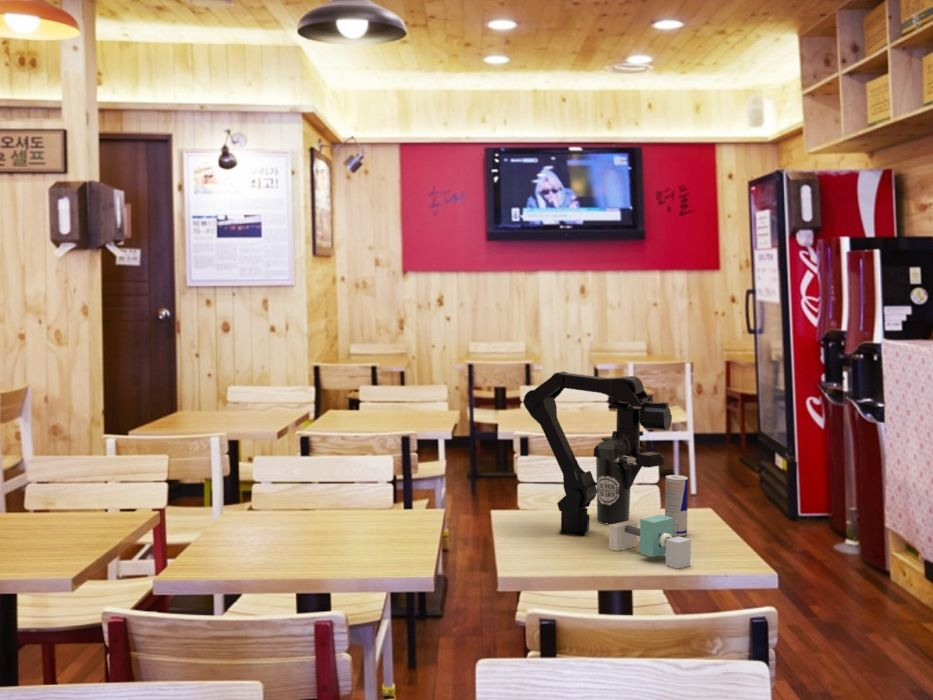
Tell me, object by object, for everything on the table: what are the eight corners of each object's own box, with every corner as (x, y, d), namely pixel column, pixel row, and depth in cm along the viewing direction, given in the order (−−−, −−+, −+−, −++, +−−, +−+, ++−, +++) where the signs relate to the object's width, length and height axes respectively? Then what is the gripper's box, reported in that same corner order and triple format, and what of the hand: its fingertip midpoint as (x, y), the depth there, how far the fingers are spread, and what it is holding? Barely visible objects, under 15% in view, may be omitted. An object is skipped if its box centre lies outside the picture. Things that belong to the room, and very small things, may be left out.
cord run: (609, 549, 217) (609, 522, 216) (629, 544, 221) (629, 517, 221) (673, 570, 201) (674, 541, 200) (694, 564, 205) (694, 536, 205)
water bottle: (587, 522, 242) (588, 437, 240) (604, 514, 250) (605, 432, 249) (622, 527, 236) (623, 441, 235) (638, 519, 245) (639, 436, 243)
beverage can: (687, 537, 227) (688, 479, 226) (664, 536, 228) (665, 478, 227) (686, 532, 232) (687, 474, 231) (664, 530, 233) (665, 474, 232)
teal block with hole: (639, 552, 209) (640, 519, 208) (660, 547, 213) (660, 514, 213) (652, 557, 206) (653, 522, 205) (673, 551, 210) (673, 518, 209)
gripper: (578, 425, 225) (577, 487, 226) (633, 435, 210) (632, 501, 211) (609, 421, 232) (608, 481, 233) (665, 431, 217) (664, 494, 218)
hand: (627, 489), depth 223 cm, fingers closed
